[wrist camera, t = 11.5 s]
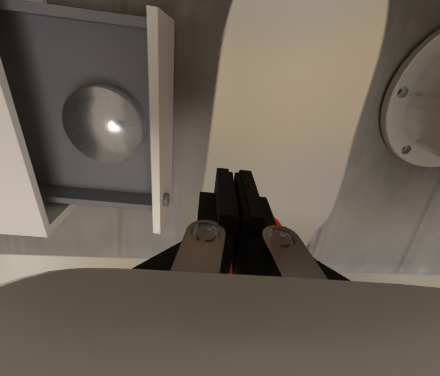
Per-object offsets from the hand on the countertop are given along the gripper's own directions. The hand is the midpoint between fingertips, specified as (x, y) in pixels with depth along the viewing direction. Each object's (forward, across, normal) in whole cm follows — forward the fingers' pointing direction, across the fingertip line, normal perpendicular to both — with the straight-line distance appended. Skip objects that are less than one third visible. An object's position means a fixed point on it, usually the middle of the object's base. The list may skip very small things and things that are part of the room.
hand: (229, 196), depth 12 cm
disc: (+11, +10, 0) cm, 14 cm away
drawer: (+12, +13, 0) cm, 17 cm away
